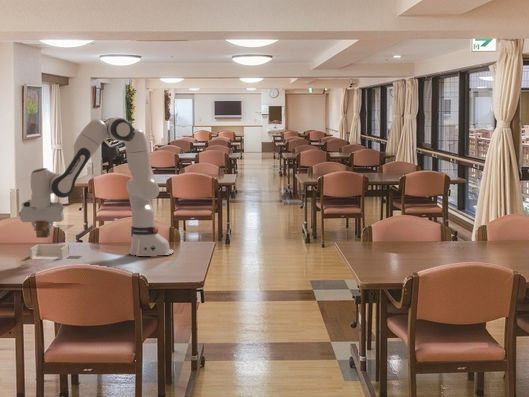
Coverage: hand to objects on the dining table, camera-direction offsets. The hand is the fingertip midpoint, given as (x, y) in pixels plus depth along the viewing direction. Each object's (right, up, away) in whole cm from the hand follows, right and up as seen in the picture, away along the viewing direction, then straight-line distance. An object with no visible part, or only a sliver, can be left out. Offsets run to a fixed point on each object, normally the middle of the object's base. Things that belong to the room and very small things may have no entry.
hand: (43, 230), depth 353 cm
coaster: (+12, -14, +10) cm, 21 cm away
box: (0, -14, +12) cm, 18 cm away
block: (0, -3, 0) cm, 3 cm away
